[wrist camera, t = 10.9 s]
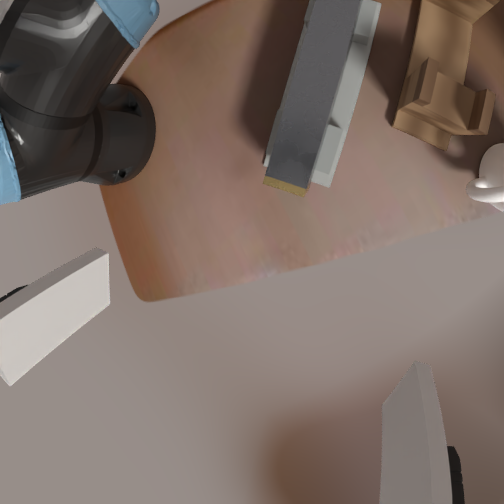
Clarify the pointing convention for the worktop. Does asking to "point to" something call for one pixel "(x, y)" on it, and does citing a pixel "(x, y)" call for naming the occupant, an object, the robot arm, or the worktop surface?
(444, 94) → the rack
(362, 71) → the rest
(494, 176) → the mug
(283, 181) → the rail
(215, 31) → the worktop surface
